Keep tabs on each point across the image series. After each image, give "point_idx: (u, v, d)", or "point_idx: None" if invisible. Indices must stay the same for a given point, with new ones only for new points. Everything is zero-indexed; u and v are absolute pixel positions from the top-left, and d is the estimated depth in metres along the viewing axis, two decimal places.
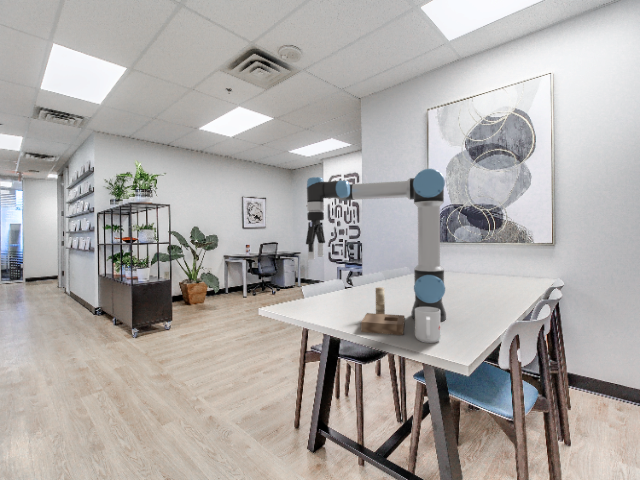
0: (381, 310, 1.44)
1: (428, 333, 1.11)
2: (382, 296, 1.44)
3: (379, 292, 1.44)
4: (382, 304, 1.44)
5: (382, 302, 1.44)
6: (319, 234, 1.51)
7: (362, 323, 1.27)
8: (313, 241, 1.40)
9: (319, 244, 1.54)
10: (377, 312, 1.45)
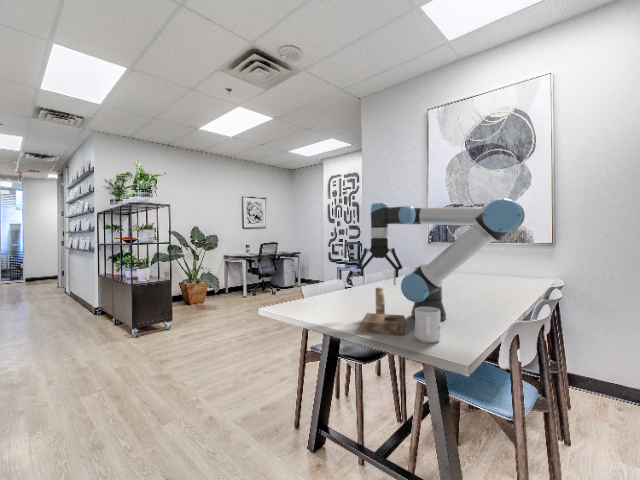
0: (381, 310, 1.44)
1: (428, 333, 1.11)
2: (382, 296, 1.44)
3: (379, 292, 1.44)
4: (382, 304, 1.44)
5: (382, 302, 1.44)
6: (388, 260, 1.44)
7: (362, 323, 1.27)
8: (363, 266, 1.46)
9: None
10: (377, 312, 1.45)
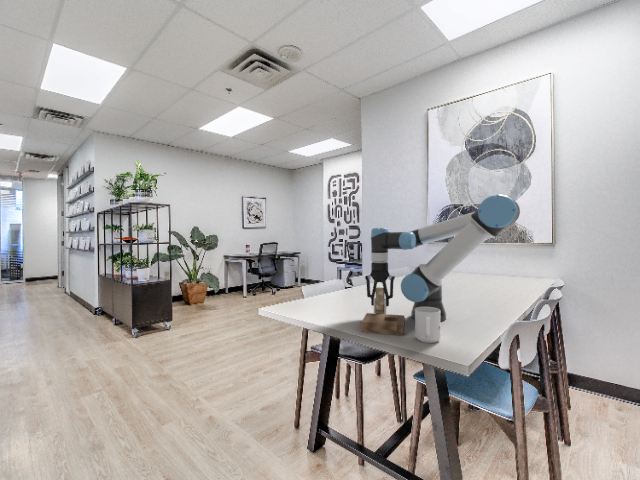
0: (381, 310, 1.44)
1: (428, 333, 1.11)
2: (382, 296, 1.44)
3: (379, 292, 1.44)
4: (382, 304, 1.44)
5: (382, 302, 1.44)
6: None
7: (362, 323, 1.27)
8: (372, 295, 1.45)
9: None
10: (377, 312, 1.45)
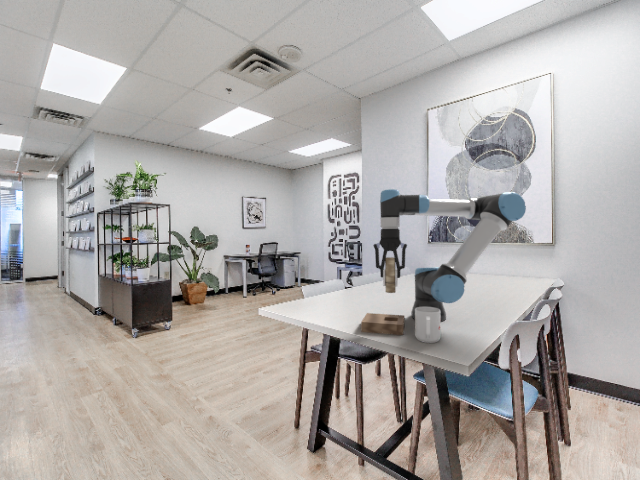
0: (392, 282, 1.28)
1: (428, 333, 1.11)
2: (393, 266, 1.28)
3: (389, 262, 1.28)
4: (393, 275, 1.28)
5: (393, 273, 1.28)
6: (394, 256, 1.29)
7: (362, 323, 1.27)
8: (382, 266, 1.30)
9: None
10: (387, 284, 1.29)
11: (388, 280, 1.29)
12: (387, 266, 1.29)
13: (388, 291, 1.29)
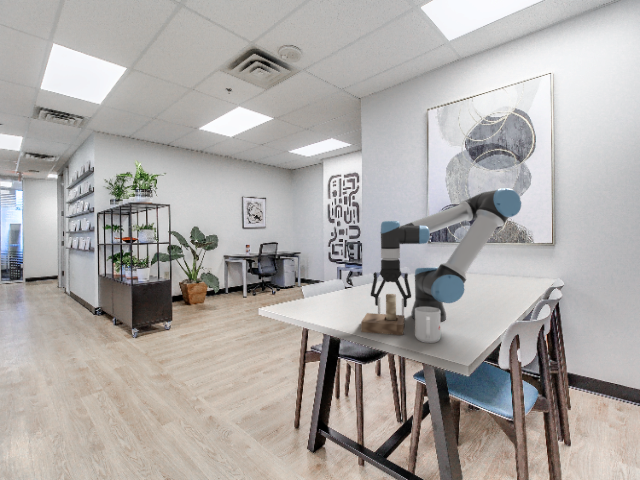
0: (392, 319, 1.29)
1: (428, 333, 1.11)
2: (393, 304, 1.29)
3: (390, 300, 1.29)
4: (393, 313, 1.29)
5: (393, 310, 1.29)
6: None
7: (362, 323, 1.27)
8: (377, 294, 1.31)
9: None
10: None
11: (389, 317, 1.29)
12: (388, 303, 1.29)
13: None
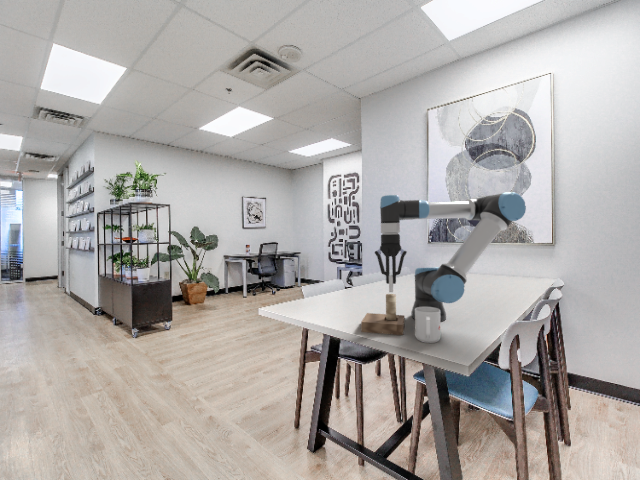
0: (392, 319, 1.29)
1: (428, 333, 1.11)
2: (393, 304, 1.29)
3: (389, 300, 1.29)
4: (393, 313, 1.29)
5: (393, 310, 1.29)
6: (392, 261, 1.29)
7: (362, 323, 1.27)
8: (387, 272, 1.29)
9: None
10: None
11: (389, 317, 1.29)
12: (388, 303, 1.29)
13: None
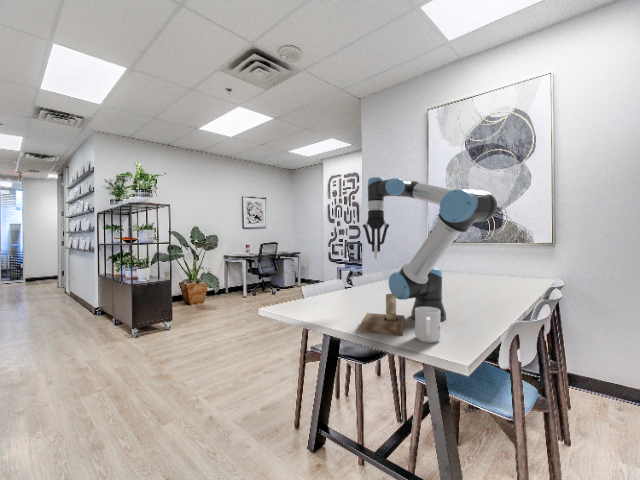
0: (392, 319, 1.29)
1: (428, 333, 1.11)
2: (393, 304, 1.29)
3: (389, 300, 1.29)
4: (393, 313, 1.29)
5: (393, 310, 1.29)
6: (377, 233, 1.55)
7: (362, 323, 1.27)
8: (372, 242, 1.55)
9: None
10: None
11: (389, 317, 1.29)
12: (388, 303, 1.29)
13: None
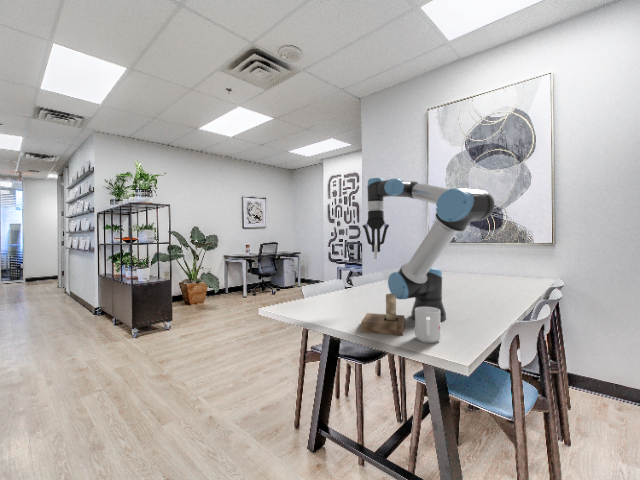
0: (392, 319, 1.29)
1: (428, 333, 1.11)
2: (393, 304, 1.29)
3: (389, 300, 1.29)
4: (393, 313, 1.29)
5: (393, 310, 1.29)
6: (377, 233, 1.56)
7: (362, 323, 1.27)
8: (372, 242, 1.56)
9: None
10: None
11: (389, 317, 1.29)
12: (388, 303, 1.29)
13: None
